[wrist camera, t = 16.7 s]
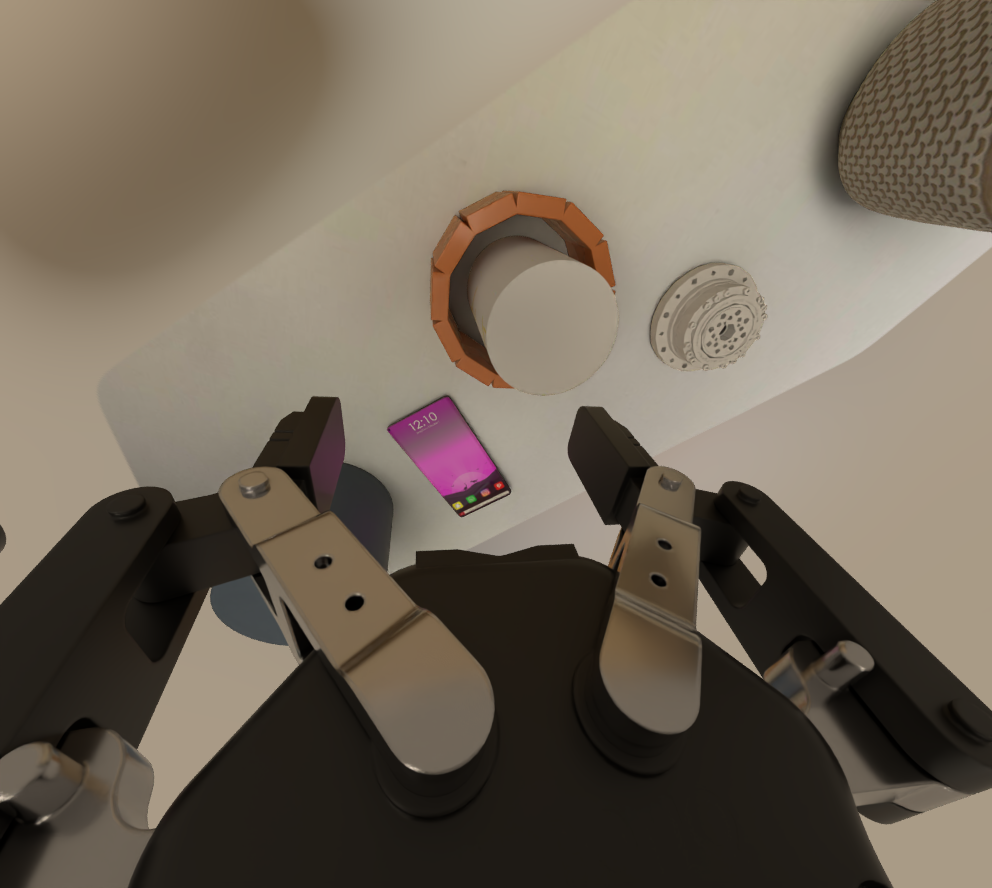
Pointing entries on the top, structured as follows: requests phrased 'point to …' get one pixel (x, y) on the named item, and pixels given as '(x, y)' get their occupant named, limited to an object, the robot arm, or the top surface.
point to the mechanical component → (708, 318)
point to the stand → (359, 510)
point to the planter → (926, 122)
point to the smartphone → (450, 456)
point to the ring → (480, 217)
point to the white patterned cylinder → (541, 315)
